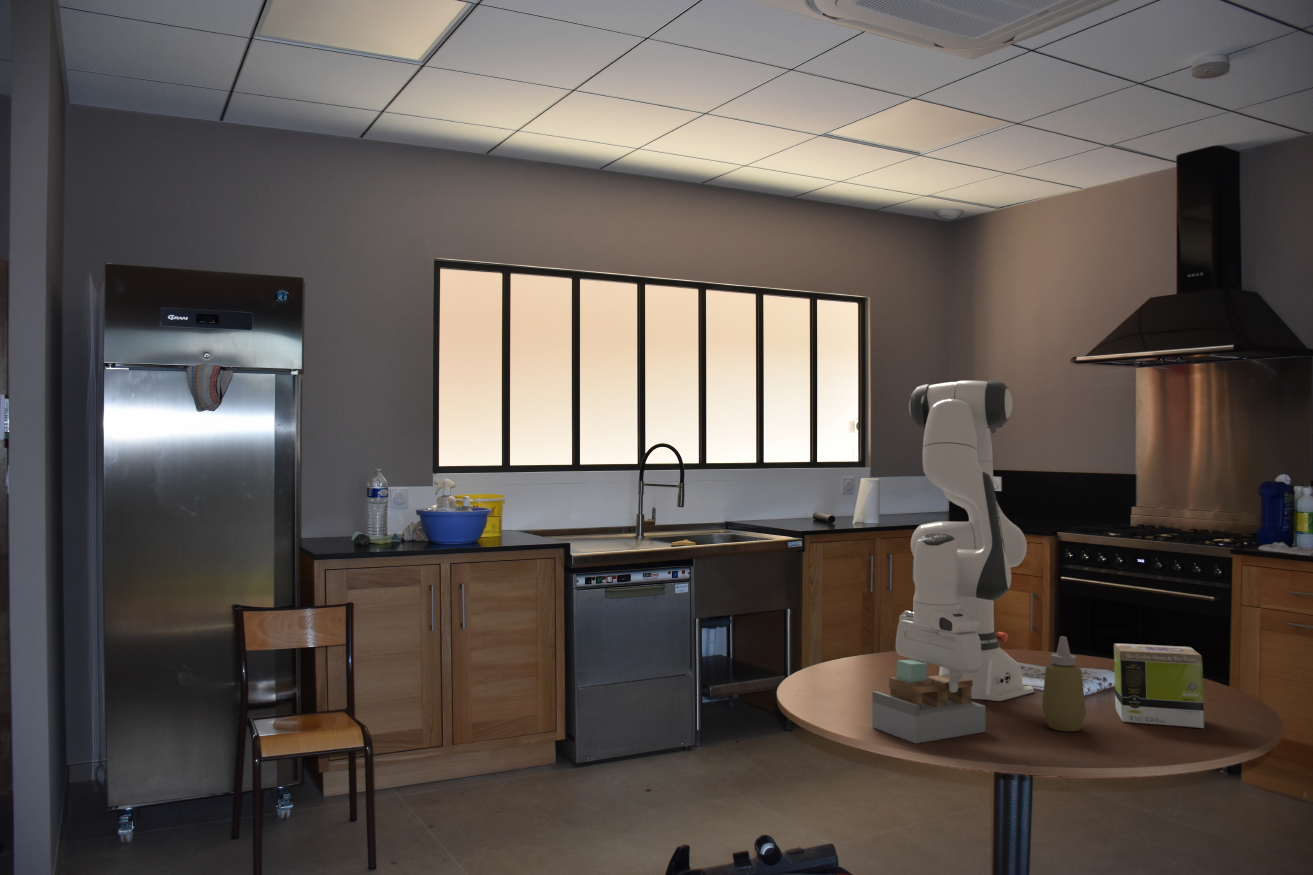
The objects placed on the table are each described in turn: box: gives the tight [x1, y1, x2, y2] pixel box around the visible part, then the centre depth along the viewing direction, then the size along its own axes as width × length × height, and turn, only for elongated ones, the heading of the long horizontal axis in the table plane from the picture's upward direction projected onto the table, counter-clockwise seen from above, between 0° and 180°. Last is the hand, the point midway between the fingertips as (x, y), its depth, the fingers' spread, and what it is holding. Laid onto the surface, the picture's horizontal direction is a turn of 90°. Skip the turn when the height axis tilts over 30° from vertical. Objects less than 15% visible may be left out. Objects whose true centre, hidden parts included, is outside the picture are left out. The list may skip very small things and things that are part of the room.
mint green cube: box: [895, 659, 928, 683], centre depth 182 cm, size 4×4×4 cm
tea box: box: [1113, 642, 1205, 729], centre depth 192 cm, size 15×10×15 cm, turn 71°
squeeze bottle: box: [1041, 635, 1087, 732], centre depth 185 cm, size 8×8×18 cm
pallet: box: [888, 674, 973, 710], centre depth 184 cm, size 16×6×5 cm, turn 117°
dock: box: [871, 690, 987, 744], centre depth 184 cm, size 18×12×7 cm, turn 117°
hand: (936, 686), depth 185 cm, fingers open, 7 cm apart
